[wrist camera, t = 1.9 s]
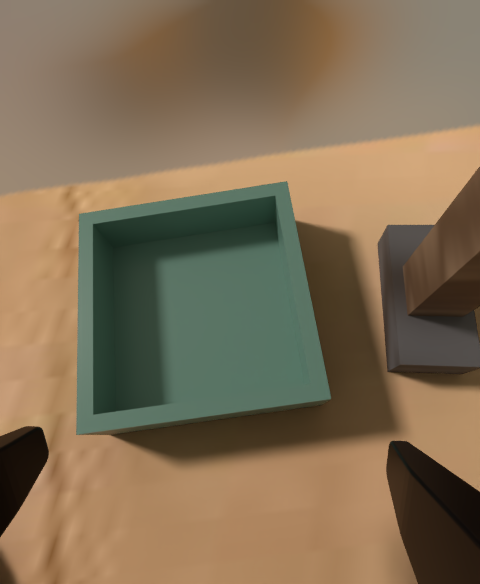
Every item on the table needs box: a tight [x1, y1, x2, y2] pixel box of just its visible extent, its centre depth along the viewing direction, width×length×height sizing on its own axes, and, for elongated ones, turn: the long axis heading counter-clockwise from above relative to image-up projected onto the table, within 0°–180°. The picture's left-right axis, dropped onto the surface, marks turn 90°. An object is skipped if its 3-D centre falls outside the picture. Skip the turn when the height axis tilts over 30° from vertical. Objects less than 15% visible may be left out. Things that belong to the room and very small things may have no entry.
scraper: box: [378, 167, 480, 374], centre depth 18 cm, size 8×4×13 cm, turn 177°
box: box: [76, 181, 331, 435], centre depth 22 cm, size 12×12×4 cm
